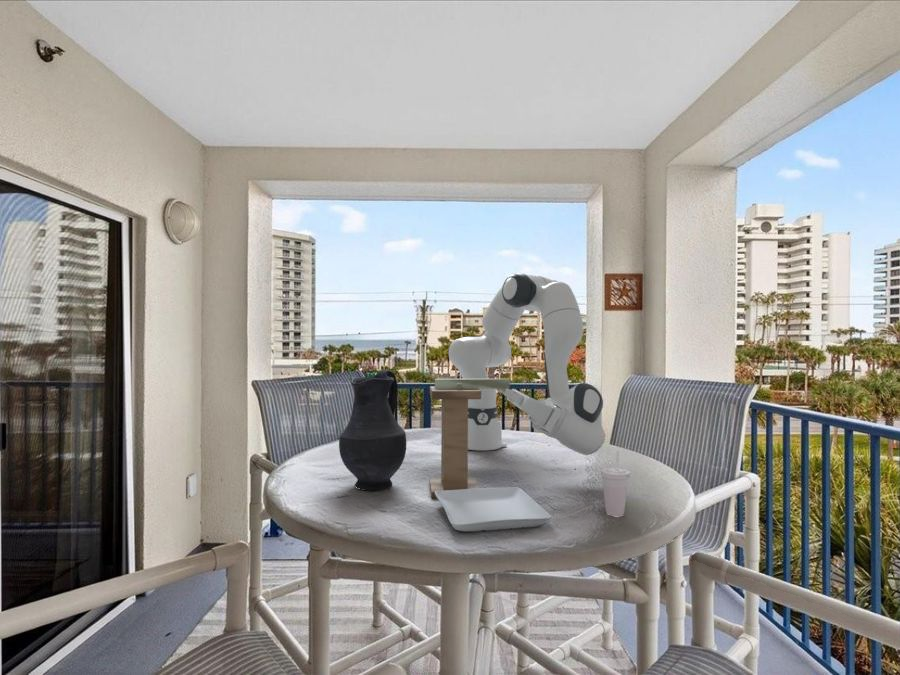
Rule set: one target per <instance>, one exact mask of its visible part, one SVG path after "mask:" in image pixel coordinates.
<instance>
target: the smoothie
mask: <svg viewBox="0 0 900 675" xmlns="http://www.w3.org/2000/svg"><path fill="white" fill-rule="evenodd" d="M615 461H616V467H612V466H611V467H603V468H600V471H599V474H600V476H601V482H602V483H601V484H602V489H603V490H602V491H603V497H604V499H603V500H604V506H605V514H606V513H607V514H609V515H614V516H620V515H623V514H625V507H626V499H627V492H628V487H629V486H628V485H629V479H630V478H631V471H630V470H627V469H625V468H620V451H619V450H616V460H615ZM607 514H606V515H607ZM623 516H624V515H623Z"/></svg>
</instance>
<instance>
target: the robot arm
mask: <svg viewBox="0 0 900 675" xmlns="http://www.w3.org/2000/svg"><path fill="white" fill-rule="evenodd" d="M574 294H575V293H574V291H573V290H572V288H571V287H570V285H569V284H567V283H566V282H563V281H558V280H556V279H555V280H554V279H550V278H548V277H543V276H540V275H532V274H527V273H526V274H525V273H521V272H518V273H517V272H515V273H511V274H509V275H508V276H507V278H506V279H505V281H504V282H503V284H502V285H501V287H500V288H499V290H498V291H497V292H496V294H495V296H494V297H493V299H492V301H491V302H490V304H489V306H488V307H487V309H486V310H485V312H484V314H483V316H482V319H481V323H482V326H483V328H484V330H485V331H484V333H483V334H482V335H481V336H463V337H459V338H456V339H455V340H453V341H452V342H451V343H450V345H449V348H448V358H449V360H450V362H451V364H452V365H453V366H454V367H456V369H457V371H459V373H460V377H461V379H490V378H489V377H488V374H487V369H486V368H496V367H497V368H498V367H500V366H504V365H505V364H507V363H508V362H509V361H510V359H511V356H512V346H511V344H510V343H509V342H510V337H511V334H512V333H513V331H514V329H515V327H516V326H517V324H518V323H519V320H520V319H521V317H522V316H523V314H524V312H525V311H528V312H529V311H530V312H539V313H540V316H541V321H542V324H543V332H544V355H543V356H544V357H543V360H544V361H543V362H544V370H545V381H546V390H547V391H546V392H547V398H545V399H543V398H539V399H538V400H537V399H535V398H534V397H531V396H528V395H527V394H525V393H523V392H521V391H519V390H517V389H515V388H512V389H507V388H506V389H479V390H481V399H468V450H470V451H493V450H498V449H501V448H505V447H507V442H504V441H503V435H502V434H503V433H502V432H503V431H502V423H501V422H500V421H499V419H498V418H497V417H498V407H497V392H499V393H500V394H502V395H504V396H505V397H506V400H507V401H508V402H509V403H510V404H512V405H513V406H515V407H517V408H518V409H519V410H521V411H523V412H524V413H525V414H527V416H528V419H529V420H530V421H531V427H532V428H533V429H534V430H536V431H539V432H540V433H542V434H543V435H545V436H546V437H549V438H552V439H556V440H557V442H559V443H560V444H561V445H562V446H564V447H566V448H567V449H569V450H571V451H573V452H576V453H578V454H580V455H584V456H589V455H592V454H594V453H596V452H597V451H598V450H599V449H601V448H602V445H603V444H604V443H605V440H606V432H605V430H604V428H603V424H602V410H603V408H604V400H603V397H602V394H601V392H600V391H599V390H598V388H596V387H595V386H594V385H592V384H590V383H587V382H581V383H579V384H575V385H574V386H572V387H571V388H569V385H570V384H569V379H568V371H567V370H568V363H569V360H570V358H571V356H572V354H573V352H574V351H575V349H576V347H577V346H578V345H579V343H580V341H581V340H582V339H583V338H582V337H583V334H584V325H583V324H584V322H583V318H582V314H581V311H580V306H579V304H578V302H577V298H576V297H575V295H574Z"/></svg>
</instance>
